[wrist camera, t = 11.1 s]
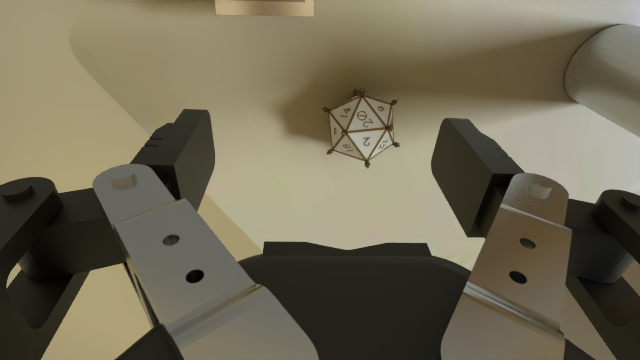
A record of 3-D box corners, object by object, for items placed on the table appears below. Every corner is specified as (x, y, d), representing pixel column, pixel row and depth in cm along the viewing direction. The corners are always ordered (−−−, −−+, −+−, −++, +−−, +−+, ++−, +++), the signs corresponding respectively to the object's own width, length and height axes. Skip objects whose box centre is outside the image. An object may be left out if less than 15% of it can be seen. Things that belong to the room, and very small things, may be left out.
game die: (336, 101, 46) (293, 108, 37) (395, 73, 41) (361, 73, 33) (361, 165, 46) (324, 185, 38) (422, 144, 42) (395, 162, 33)
